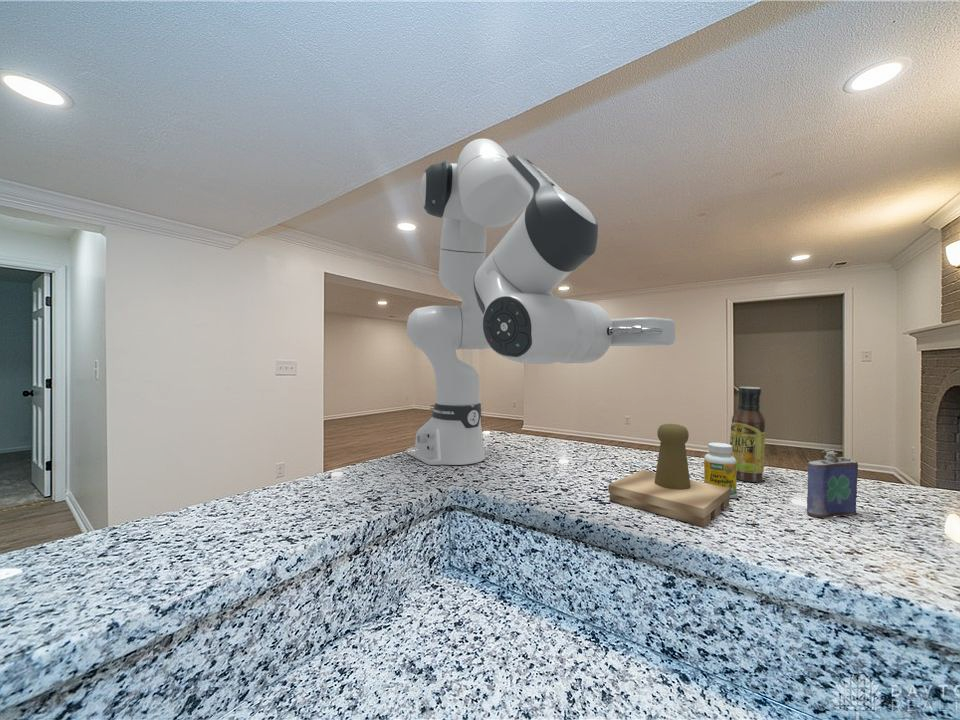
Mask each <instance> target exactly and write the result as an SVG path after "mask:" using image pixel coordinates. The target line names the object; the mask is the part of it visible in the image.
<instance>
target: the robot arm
mask: <svg viewBox="0 0 960 720" xmlns="http://www.w3.org/2000/svg"><path fill="white" fill-rule="evenodd" d="M419 185H420V186H419V195H420V199H421V200H420V201H421V203H422V204H423V205H422V206H423V209H424V210H425V212H426V213H427V214H428V215H431V216H432V217H437V218H443V222H442V227H441V233H440V243H439V244H440V245H439V264H438V265H439V267H438V279H439V282H440V283H441V285H442V287H444V288H445V289H446V290H448V291H450V292H451V293H453V294H455V295H456V296H459V298H460V299H461V305H457V306H456V305H454V306H453V305H429V306H428V305H427V306H423V307H417V308H415V309H413V311H412V312H411V313H410V314H409V316H408V319H407V323H406V332H407V336H408V339H409V340H410V341H411V343H412V344H413V345H414V346H415V347H417V348H418V349H419V350H420V351H422V352H423V353H424V355H425V356H426V357H427V358H428V359H427V360H428V361H429V362H430V364H431V366H432V369H433V373H434V377H435V379H434V380H435V390H436V391H435V394H436V397H435V398H436V401H435V402H436V403H434V404H433V405H429V407H431V408H429V409H430V411H432V412H431V413H432V414H431V418H429V420H428V421H427V422H425V423H424V424H423V425H422V426H421V427H420V428H419V429H418V430H417V431H416V434H415V440H414V441H415V444H414V445H415V446H411V447H409V448H406V451H405V453H406V452H407V453H406V454H407V455H409V456H411V457H413V458H415V459H417V460H419V461H421V462H422V463H425V464H426V465H429V466H430V465H431V466H439V465H449V466H450V465H451V466H453V465H454V466H459V465H461V466H462V465H464V466H465V465H471V464H472V465H473V464H476V463H479V462H483V461H484V460H485V459H486V458H487V457H486V448H485V447H484V440H483V439H484V438H483V429H482V423H481V417H482V403H480V375H479V372H478V370H477V369H475V367H473V366H472V365H470V364H468V363H466V362H464V361H462V360H460V359H459V358H458V355H457V350H486V349H492V350H493V351H494V352H495V353H496V354H498V355H499V356H501V357H502V358H505V359H508V360H509V361H510V360H511V361H513V362H517V363H522V364H532V365H549V364H550V365H551V364H555V363H560V364H588V363H594V362H595V361H598V360H600V359H601V358H602V357H603V356H604V355H605V354H606V353H607V352H608V350H609V349H610V347H630V346H631V347H635V346H637V347H639V346H647V347H648V346H671V345H673V344H674V343H675V339H676V338H675V337H676V324H675V321H674V320H673V319H672V318H663V317H650V316H649V317H647V316H644V317H643V316H642V317H641V316H640V317H639V316H638V317H625V318H611V317H610V315H609V313H608V312H607V310H605V308H604V307H602V306H601V305H599V304H597V303H595V302H590V301H586V300H585V301H584V300H578V299H571V298H566V299H565V298H561V297H558V296H554V294H553V291H554V290H555V289H556V288H557V287H558V286H559V285H561V283H563V281H564V280H565V279H566V278H567V277H568V276H569V275H570V274H571V273H572V272H573V271H575V270H577V269H578V268H579V267H580V266H581V265H582V264H583V263H584V262H586V261H587V260H588V259H589V258H591V257H592V256H593V255H595V253H596V250H597V246H598V245H597V244H598V237H599V235H598V233H599V226H598V225H599V224H598V221H596V219H595V216H594V215H593V214H592V212H591V211H590V209H589V208H588V207H587V206H586V205H585V204H583V202H581V201H580V200H579V199H577V198H576V197H574V196H573V195H571V194H569V193H567V192H566V191H564V189H562V188H561V187H560V186H559V185H558V184H557V183H556V182H555V181H554V180H553V179H552V178H550V176H548V174H547V173H546V172H544V171H543V170H542V169H540V168H539V167H538V166H537V165H535V163H533V162H531V161H530V160H529V159H527V158H525V157H523V156H522V155H518V154H512V155H510V156H509V155H508V153H507V152H506V151H505V149H504V148H503V147H502V146H501V145H500V144H499V143H497V142H496V141H494V140H493V139H489V138H476V139H474V140H472V141H470V142H469V143H467V144H465V146H464V147H463V148H462V150H461V151H460V153H459V156H458V160H457V163H450V162H448V161H447V160H444V161H442V162H437V163H433V164H430V165H429V166H428V167H427V168H426V169H425V170H424V174H423V175H422V178H421V181H420V184H419ZM517 218H518V219H517ZM516 219H517V220H516ZM514 220H516V221H515V222H514V223H513V224H512V225H511V227H510V228H509V230H508V231H507V232H506V233H505V235H504V236H503V237H502V239H500V241H499V242H498V244H497V245H496V246H495V247H494V249H493V250H492V251H491V252H490V253H489V255H488V256H487V257H486V253H487V252H486V251H487V228H490V229H491V228H501V227H505V226H506V225H509V224H510V223H512V222H513V221H514ZM416 449H418V450H416ZM411 450H415V451H411ZM408 451H411V452H408Z"/></svg>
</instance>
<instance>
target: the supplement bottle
mask: <svg viewBox="0 0 960 720" xmlns="http://www.w3.org/2000/svg"><path fill="white" fill-rule="evenodd" d="M707 450H708V453H706V454H705V455H704V457H703V465H704V467H703V471H704V472H703V473H704V474H703V475H704V477H703V483H707V484H712V485H717V486H722V487H727V488H730V497H729V499H734V498H735V497H736V496H737V479H736V459H735V458H734V457H733V456H731V453H732V445H730V443H729V444H728V443H723V442H709V443H708V444H707Z"/></svg>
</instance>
